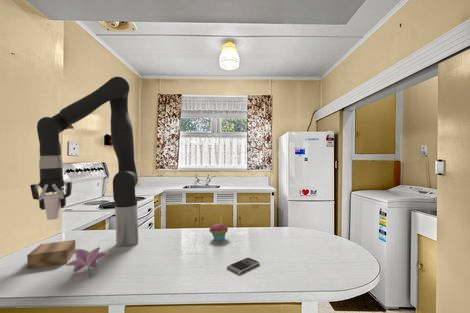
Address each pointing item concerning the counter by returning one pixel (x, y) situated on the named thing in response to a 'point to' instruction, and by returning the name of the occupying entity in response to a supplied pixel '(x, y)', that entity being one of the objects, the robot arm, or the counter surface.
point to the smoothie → (52, 205)
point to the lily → (86, 259)
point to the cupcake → (218, 230)
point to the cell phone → (242, 266)
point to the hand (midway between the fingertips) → (52, 208)
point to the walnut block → (51, 254)
